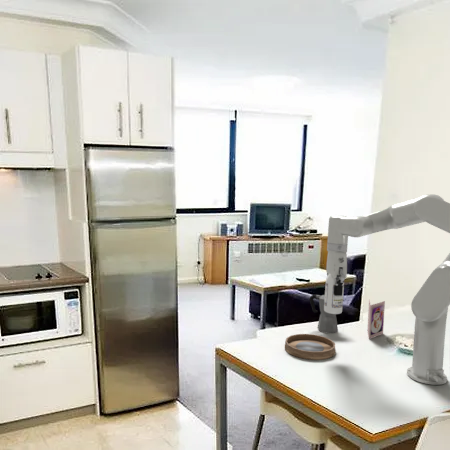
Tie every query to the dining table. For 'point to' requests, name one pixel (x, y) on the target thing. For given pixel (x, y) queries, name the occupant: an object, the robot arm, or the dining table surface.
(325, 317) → the coffeepot
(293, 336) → the round tray
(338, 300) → the bath foam
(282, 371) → the dining table surface
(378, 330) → the greeting card
